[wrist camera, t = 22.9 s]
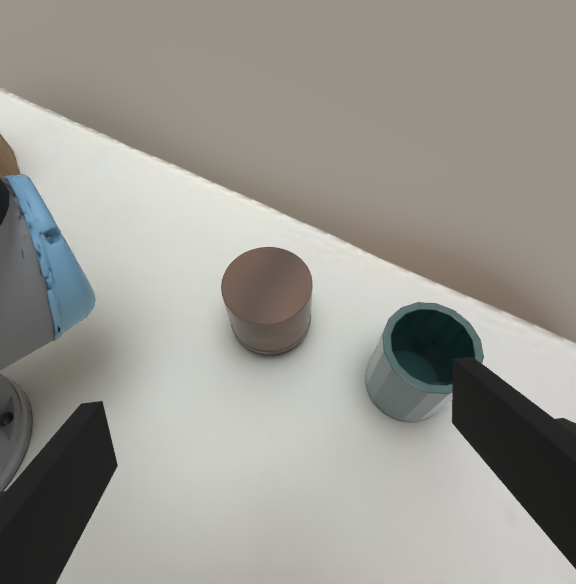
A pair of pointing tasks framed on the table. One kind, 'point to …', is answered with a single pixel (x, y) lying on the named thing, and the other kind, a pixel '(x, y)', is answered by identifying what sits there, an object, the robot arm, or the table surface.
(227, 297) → the lid
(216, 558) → the table surface
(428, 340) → the canister
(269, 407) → the table surface
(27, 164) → the table surface
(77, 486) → the robot arm
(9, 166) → the wooden block
